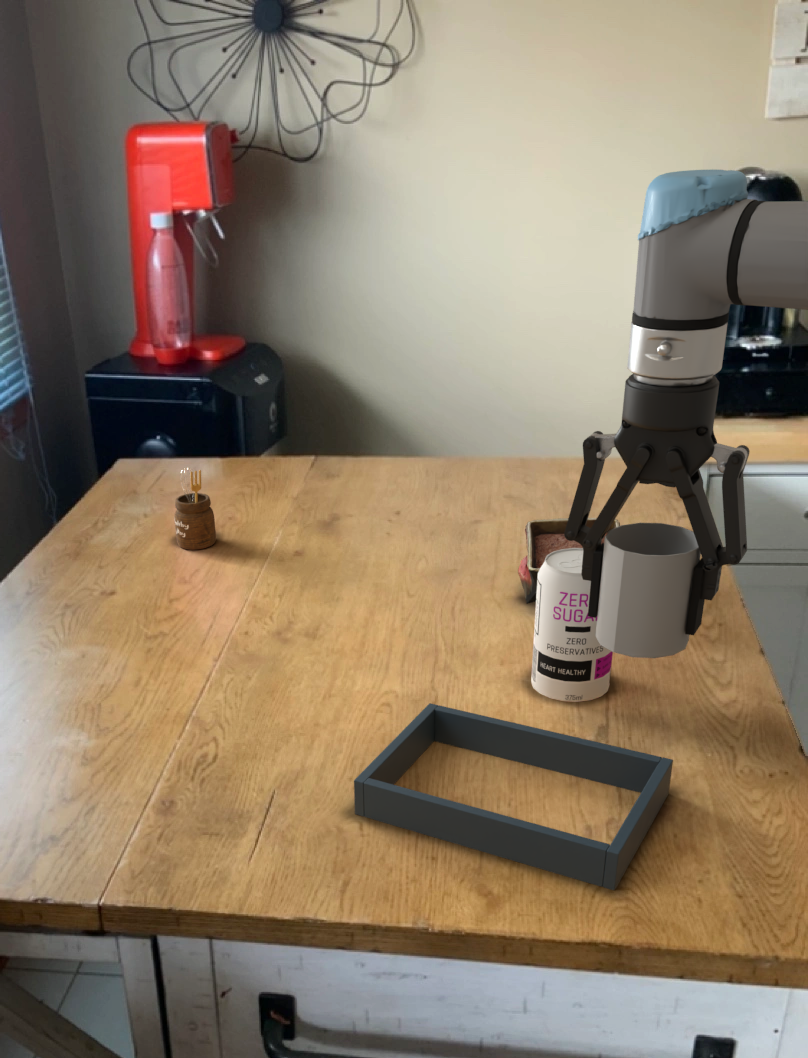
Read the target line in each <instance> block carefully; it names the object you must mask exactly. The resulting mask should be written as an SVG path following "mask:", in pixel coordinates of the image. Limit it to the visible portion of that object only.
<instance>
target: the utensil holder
mask: <svg viewBox="0 0 808 1058" xmlns="http://www.w3.org/2000/svg"><path fill="white" fill-rule="evenodd" d="M187 470H188V475H189V476H190V478H189V480H190V490H191V492H190V490H189V489H185V488H189V485H188V484H186V485H183V483H180V484H181V485H180V486H181V488H182V491H183V492H184V494H181V495H179V496H177V497H176V498H175V500H174V501H175V502H174V507H175V509H176V510H175V512H174V518H173V519H174V528H175V537H176V538H175V539H176V543H177V545H178V547H180V548H182V549H184V550H190V551H191V550H192V551H193V550H203V549H207V548H209V547H212V546H213V545H214V544H215V543H216V541H217V531H216V530H217V529H216V522H215V521H216V520H215V513H214V510H213V509H212V507H211V505H212V502H211V498H210V496H209V495H208V494H206V493H202V492H200V490H202V470H201V469H199V470H194V469H193V468H190V469H189V467H184V468H183V469H182V470H181V471H180V475H179V476H180V480H184V482H188V480H187V478H184V479H182V473H183V471H184V474H187ZM184 486H185V488H184Z"/></svg>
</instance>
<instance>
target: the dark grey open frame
mask: <svg viewBox="0 0 808 1058" xmlns="http://www.w3.org/2000/svg"><path fill="white" fill-rule="evenodd" d="M434 742H436V743H440V744H444V745H448V746H452V747H455V748H460V749H463V750H468V751H471V752H476V753H480V754H483V755H488V756H493V757H496V758H500V759H505V760H507V761H511V762H512V761H513V762H516V763H519V764H520V763H521V764H524V765H527V766H531V767H537V768H539V769H545V770H548V771H552V772H555V773H560V774H564V775H568V776H571V777H572V776H573V777H576V778H580V779H584V780H589V781H592V782H596V783H600V784H603V785H604V784H605V785H608V786H612V787H617V788H621V789H625V790H628V791H631V792H636V793H640V794H639V796H638V797H637V799H636V801H635V802H634V804H633V806H632V807H631V809H630V811H629V812H628V814H627V816H626V818H625V819H624V821H623V823H622V824H621V826H620V828H619V829H618V831H617V833H616V835H615V836H614V838H613V840H612V841H611V843H610V844H609V843H606V842H603V841H599V840H596V839H592V838H588V837H585V836H581V835H577V834H574V833H569V832H568V831H567V832H566V831H563V830H559V829H556V828H553V827H548V826H545V825H541V824H537V823H534V822H530V821H527V820H523V819H521V818H520V819H519V818H517V817H516V818H515V817H513V816H509V815H505V814H502V813H498V812H494V811H490V810H487V809H483V808H480V807H476V806H472V805H468V804H465V803H461V802H457V801H454V800H450V799H447V798H443V797H439V796H436V795H432V794H428V793H425V792H422V791H417V790H414V789H410V788H408V787H404V786H401V785H396V783H397V782H398V781H399V780H400V779H401V778H402V776H403V775H404V774H405V773H406V772H407V771H408V770H410V768H411V767H412V766H413V765H414V764H415V763H416V761H418V759H419V758H420V757H421V756H422V755H423V754H424V752H426V751H427V749H428V748H430V746H431V745H432V744H433V743H434ZM673 763H674V759H673V758H672V759H671V758H667V757H662V756H659V755H654V754H650V753H646V752H642V751H637V750H633V749H628V748H624V747H620V746H616V745H611V744H609V743H608V744H607V743H604V742H599V741H595V740H590V739H585V738H582V737H577V736H573V735H568V734H564V733H560V732H556V731H551V730H547V729H543V728H538V727H534V726H530V725H525V724H521V723H517V722H513V721H508V720H505V719H499V718H495V717H491V716H487V715H482V714H479V713H474V712H469V711H466V710H461V709H457V708H453V707H448V706H444V705H439V704H436V703H431V702H430V703H428V704H427V705H426V706H425V707H424V708H423V709H422V710H421V711H420V712H419V713H418V714H417V715H416V717H414V718H413V719H412V720H411V721H410V722H409V724H408V725H407V726H405V727H404V729H403V730H402V731H401V732H400V733H399V734H398V735H397V736H396V737H395V738H394V739H393V740H392V741H391V742H390V743H389V744H388V745H387V746H385V748H384V749H383V750H382V751H381V752H380V753H379V754H377V756H376V757H375V758H374V759H373V761H371V762H370V763H369V764H368V765H367V766H366V767H365V769H363V770H362V771H361V772H360V774H358V776H357V777H356V778H355V779H354V780H353V793H354V794H353V795H354V796H353V797H354V798H353V799H354V814H355V815H356V816H360V817H364V818H368V819H371V820H374V821H377V822H381V823H383V824H387V825H391V826H394V827H397V828H400V829H405V830H408V831H411V832H415V833H417V834H422V835H425V836H427V837H431V838H435V839H438V840H442V841H445V842H449V843H452V844H455V845H458V846H461V847H465V848H469V849H472V850H475V851H479V852H481V853H485V854H489V855H492V856H496V857H499V858H502V859H506V860H510V861H513V862H517V863H520V864H523V865H526V866H529V867H533V868H537V869H540V870H543V871H547V872H549V873H553V874H556V875H560V876H564V877H567V878H571V879H574V880H577V881H580V882H583V883H586V884H587V883H588V884H590V885H594V886H598V887H601V888H604V889H608V890H611V891H616V889H617V887H618V885H619V884H620V882H621V880H622V878H623V877H624V875H625V873H626V871H627V869H628V867H629V866H630V864H631V862H632V860H633V858H634V857H635V855H636V854H637V852H638V850H639V847H640V846H641V844H642V843H643V840H644V838H645V837H646V835H647V833H648V832H649V830H650V828H651V826H652V824H653V823H654V821H655V819H656V817H657V815H658V813H659V812H660V810H661V808H662V806H663V804H664V803H665V801H666V799H667V797H668V796H669V792H670V786H671V780H672V779H671V778H672V770H673Z"/></svg>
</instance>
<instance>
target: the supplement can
mask: <svg viewBox="0 0 808 1058" xmlns="http://www.w3.org/2000/svg"><path fill="white" fill-rule="evenodd" d="M582 561H583V548H569V549H561V550H558V551H554V552H552V553H550V554H548V555H547V556H546V558H545V562H544V563H543V565H542V566H541V568H540V570H539V572H538V577H537V593H536V602H535V610H534V611H535V612H534V627H533V632H534V633H533V643H532V658H531V660H532V661H531V675H530V676H531V677H530V683H531V686H532V689H533V690H535V691H536V692H537V693H538V694H540V695H542V696H543V697H546V698H549V699H552V700H556V701H561V702H571V703H572V702H573V703H580V702H589V701H593V700H595V699H599V698H601V697H603V696H604V695H605V694H606V693H608V692H609V688H610V684H611V675H612V665H613V656H614V655H613V654H614V652H612V651H610V650H609V649H607V648H605V647H603V646H602V645H600V643H599V642H598V640H597V638H596V625H597V617H596V618H594V617H588V608H589V597H590V586H591V581H588V580H583V578H582V575H581V572H582Z"/></svg>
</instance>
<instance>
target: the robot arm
mask: <svg viewBox="0 0 808 1058" xmlns="http://www.w3.org/2000/svg"><path fill="white" fill-rule="evenodd" d="M747 187H748V177H747V176H746V174H745V173H743V172H742V171H739V170H734V169H728V170H726V169H690V170H689V169H688V170H678V171H671V172H665V173H662V174H659V175H657V176H656V177H655V178H653V179H652V180H651V182H650V183H649V184H648V186H647V187H646V193H645V198H644V204H643V209H642V210H643V211H642V215H641V216H642V217H641V223H640V228H639V229H640V230H639V233H638V234H637V241H638V247H637V248H638V249H637V261H636V263H637V264H636V274H635V284H634V285H635V286H634V297H633V298H634V299H633V310H632V315H631V323H630V331H629V332H630V333H629V343H628V354H627V366H626V367H627V368H626V369H627V370H628V371H629V372H631V374H630V375H629V376H628V378H627V379H625V382H624V383H625V384H624V393H623V403H622V413H621V424H620V426H619V429H618V430H617V432H616V433H603V432H602V431H600V430H595V431H594V432H593V433H591V434H590V435H588V436H587V437H586V438H585V439H584V440H583V442H582V455H583V466H582V469H581V473H580V476H579V480H578V482H577V487H576V491H575V494H574V497H573V501H572V504H571V508H570V512H569V515H568V517H567V518H568V522H567V525H566V529H565V532H564V536H565V538H566V539H567V540H569V541H573V540H574V541H576V542H578V543H579V544H581V545H582V547H583V561H582V572H581V575H582V578H583V580H588V581H591V586H590V597H589V608H588V617H594V618H596V617H597V615H598V604H599V594H600V583H601V573H602V562H603V551H604V543H602V544H601V540H602V539H603V538H604V537H605V534H606V533H607V531H608V529H609V528H610V526H611V525H612V523H613V521H614V520H615V519H616V518H617V517H618V515H619V514H620V512H621V510H622V508H623V507H624V505H625V504H626V503H627V501H628V499H629V497H630V496H631V494H632V493H633V491H634V490H635V488H636V486H637V484H642V485H653V484H658V485H660V486H664V487H668V488H676V491H677V494H678V497H679V498H680V499H681V500H682V502H683V505H684V508H685V511H686V515H687V517H688V520H689V523H690V526H691V529H692V531H693V532H694V535H695V538H696V541H697V544H698V547H699V550H700V553H701V556H700V561H699V562H698V564H697V565H696V566H695V568H694V574H693V582H692V589H691V596H690V603H689V611H688V618H687V625H686V632H685V634H688V635H689V636H695V634H696V633H697V631H698V629H700V627H701V625H702V622H703V614H704V609H705V608H704V607H705V602H706V601H713V599H714V598H715V597H716V594H717V593H718V592H719V588H720V581H721V577H722V570H723V569H722V568H723V566H725V565H732V566H733V565H734V566H735V565H739V564H740V562H741V561H742V560H743V558H744V557H745V555H746V553H747V552H748V538H747V537H748V536H747V535H748V534H747V518H746V517H747V516H746V499H745V481H744V471H745V468H746V465H747V462H748V459H749V456H750V453H751V452H750V449H749V447H748V446H747V445H744V444H740V445H738V446H737V447H734V446H730V445H726V444H722V443H719V442H718V440H717V438H716V435H715V431H714V425H715V417H716V410H717V404H718V403H717V402H718V396H719V388H720V381H719V380H718V378H717V377H716V374H718V373H719V372H720V371H721V370H722V368H723V362H724V361H723V360H724V353H725V347H726V346H725V345H726V337H727V331H728V325H729V324H728V322H729V316H730V307H731V305H735V306H752V307H753V306H754V307H765V308H766V307H767V308H779V309H791V310H793V309H794V310H803V311H808V200H806V201H805V200H799V201H798V200H795V201H793V200H791V201H789V200H787V201H766V200H759V199H754V198H748V196H749V191H748V190H747ZM613 448H615V450H616V451H617V453H618V454H619V456H620V458H621V459H622V461H623V463H624V465H625V467H626V469H624V471H623V473H622V475H621V477H620V478H619V480H618V481H617V483H616V486H615V488H614V489H613V491H612V492H611V494H610V496H609V498H607V501H606V502H605V504H604V506H603V507H602V509H601V511H600V512H599V513H598V516H597V517H596V518H597V519H596V521H595V522H594V524H593V525H592V527H591V528H589V527H587V526H586V523H587V520H588V518H590V517H589V516H590V513H591V509H592V507H593V503H594V499H595V497H596V493H597V490H598V486H599V483H600V480H601V476H602V473H603V469H604V466H605V462H606V460H607V458H608V457H609V456H610V455H611V454H612V451H613ZM712 458H713V459H714V460H715V461H716V469H717V471H718V472H719V473H721V474H722V478H721V492H722V493H721V494H722V509H723V525H724V526H723V527H724V542H725V546H724V545H723V542H722V539H721V536H720V533H719V530H718V527H717V524H716V521H715V518H714V514H713V512H712V509H711V507H710V503H709V500H708V498H707V494H706V492H705V488H704V479H703V475H702V473H701V470H700V469H701V468H702V466H703V465H705V464H706V462H708V460H710V459H712Z"/></svg>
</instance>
